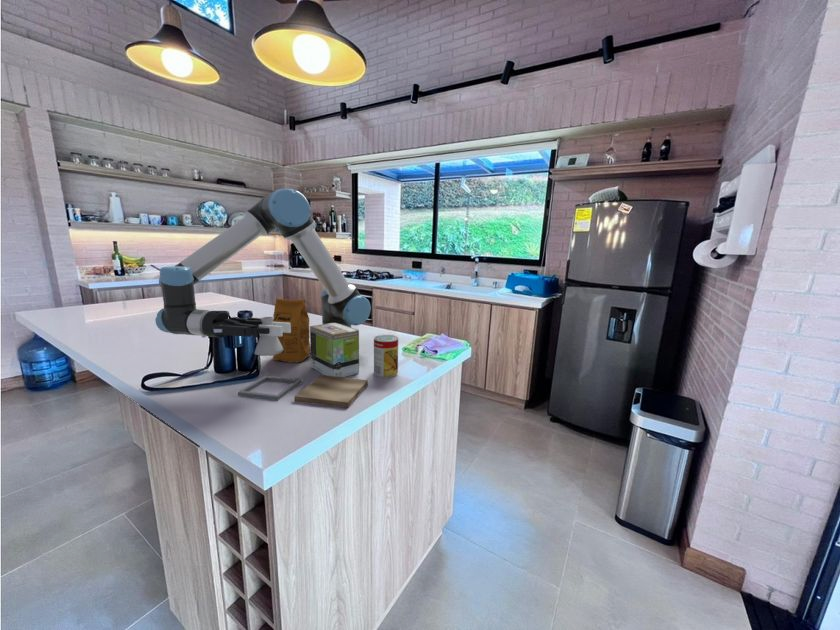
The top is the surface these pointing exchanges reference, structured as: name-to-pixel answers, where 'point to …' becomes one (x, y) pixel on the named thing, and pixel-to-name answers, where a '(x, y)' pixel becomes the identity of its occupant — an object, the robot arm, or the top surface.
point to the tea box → (334, 349)
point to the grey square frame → (270, 396)
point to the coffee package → (293, 330)
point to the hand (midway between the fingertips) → (285, 329)
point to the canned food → (385, 355)
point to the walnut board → (332, 391)
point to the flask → (268, 341)
